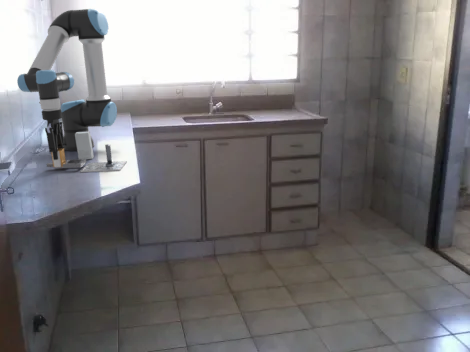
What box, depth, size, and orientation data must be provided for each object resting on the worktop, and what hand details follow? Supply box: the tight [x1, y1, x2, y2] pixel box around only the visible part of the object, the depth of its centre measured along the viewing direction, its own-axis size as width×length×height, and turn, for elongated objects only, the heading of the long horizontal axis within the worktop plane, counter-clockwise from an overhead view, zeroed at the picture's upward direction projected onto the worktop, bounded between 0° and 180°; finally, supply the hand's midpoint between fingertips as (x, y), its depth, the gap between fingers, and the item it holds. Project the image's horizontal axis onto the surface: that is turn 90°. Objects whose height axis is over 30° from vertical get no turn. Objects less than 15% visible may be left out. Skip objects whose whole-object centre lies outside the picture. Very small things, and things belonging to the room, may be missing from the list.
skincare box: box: [75, 131, 95, 160], centre depth 219 cm, size 6×4×12 cm
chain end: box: [46, 148, 87, 169], centre depth 203 cm, size 15×7×7 cm, turn 90°
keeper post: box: [80, 143, 128, 173], centre depth 203 cm, size 13×16×9 cm
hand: (59, 165), depth 204 cm, fingers closed on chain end, 4 cm apart
